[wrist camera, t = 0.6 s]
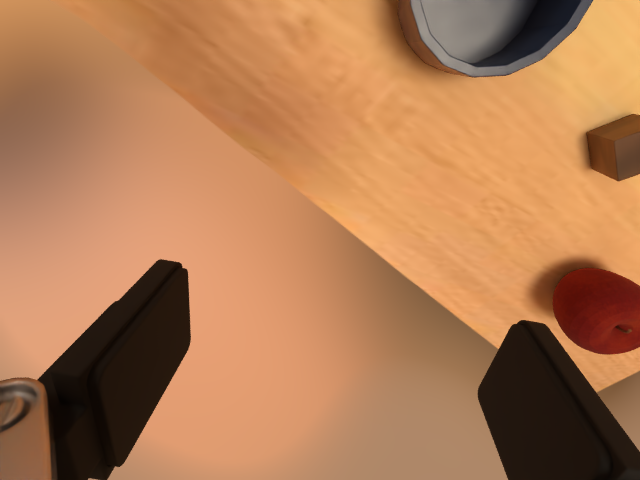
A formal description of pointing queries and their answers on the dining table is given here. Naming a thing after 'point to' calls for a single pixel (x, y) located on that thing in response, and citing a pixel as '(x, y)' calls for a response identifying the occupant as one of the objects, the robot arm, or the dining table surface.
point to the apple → (599, 310)
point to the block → (616, 148)
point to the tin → (487, 32)
